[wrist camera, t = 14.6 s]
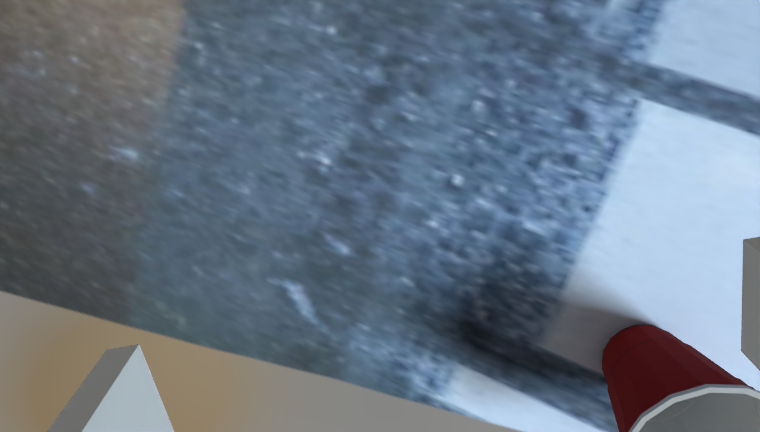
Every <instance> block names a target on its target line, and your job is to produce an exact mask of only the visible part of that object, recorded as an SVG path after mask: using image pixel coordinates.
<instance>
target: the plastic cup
mask: <svg viewBox="0 0 760 432" xmlns="http://www.w3.org/2000/svg"><path fill="white" fill-rule="evenodd" d="M602 365H603V366H602V369H603V372H604V375H605V379H606V382H607V385H608V393H609V396H610V400H611V404H612V407H613V411H614V414H615V418H616V422H617V425H618V429H619V432H760V391H757V390H755V389H754V388H753V387H750V386H748V385H747V384H745V383H744V382H743V381H742V380H740V379H738V378H735V377H734V376H732V375H731V374H730V373H728V372H727V371H725V370H724V369H722V368H721V367H720V366H718V365H717V364H715V363H714V362H713V361H711V360H710V359H708V358H707V357H706V356H704V355H703V354H701V353H700V352H699V351H697V350H696V349H694V348H693V347H692V346H690V345H688V344H685V343H683V342H682V341H681V340H679V339H678V338H676V337H675V336H673V335H672V334H671V333H669V332H667V331H664V330H662V329H659V328H657V327H654V326H652V325H634V326H632V327H629V328H626V329H623V330H621V331H620V332H619V333H617V334H616V335H615V336H614V337H612V338H611V339H610V341H609V342H608V344H607V346H606V347H605V349H604V351H603V359H602Z"/></svg>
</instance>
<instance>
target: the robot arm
mask: <svg viewBox="0 0 760 432" xmlns="http://www.w3.org/2000/svg"><path fill="white" fill-rule="evenodd" d="M741 351H742V352H743V353H744V354H745V355H746V357H747V358H748V359H749V360H750V361H751V362H752V363H753V364H754V365H755V366H756V367H757V368H758V369H759V370H760V237H756V238H750V239H745V240H743V280H742V332H741ZM47 432H174V430H173V428H172V425H171V423H170V420H169V418H168V415H167V413H166V410H165V408H164V405H163V403H162V400H161V398H160V395H159V393H158V390H157V388H156V385H155V383H154V380H153V378H152V375H151V373H150V370H149V368H148V365H147V363H146V360H145V358H144V355H143V353H142V350H141V348H140V345H139V344H137V345H131V346H126V347H120V348H114V349H108V350H106V351H105V353H104V354H103V355H102V357H101V358H100V360H99V361H98V362H97V363H96V365H95V366H94V368H93V369H92V370H91V372H90V373H89V374H88V376H87V377H86V379H85V380H84V381H83V383H82V384H81V385H80V387H79V388H78V389H77V391H76V392H75V394H74V395H73V396H72V398H71V399H70V400H69V402H68V403H67V405H66V406H65V407H64V409H63V410H62V411H61V413H60V414H59V416H58V417H57V418H56V420H55V421H54V423H53V424H52V425H51V427H50V428H49V429H48V431H47Z"/></svg>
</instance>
